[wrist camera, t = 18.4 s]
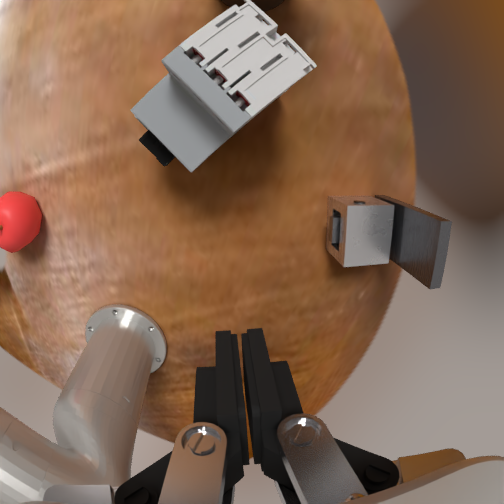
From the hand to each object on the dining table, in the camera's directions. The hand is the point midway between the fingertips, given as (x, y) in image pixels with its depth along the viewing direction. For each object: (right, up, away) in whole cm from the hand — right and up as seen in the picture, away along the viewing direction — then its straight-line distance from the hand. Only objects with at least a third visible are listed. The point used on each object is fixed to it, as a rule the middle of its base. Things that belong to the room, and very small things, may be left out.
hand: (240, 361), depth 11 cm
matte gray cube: (+13, +8, +28) cm, 31 cm away
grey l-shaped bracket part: (+14, +8, +27) cm, 32 cm away
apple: (-31, +9, +23) cm, 39 cm away
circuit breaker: (-4, +20, +22) cm, 30 cm away
